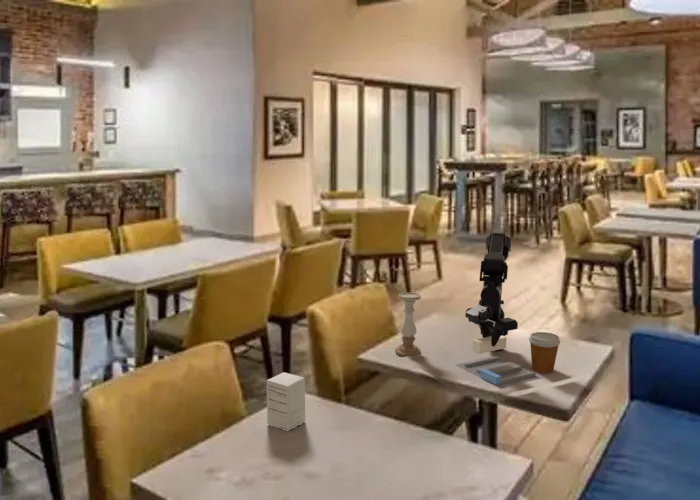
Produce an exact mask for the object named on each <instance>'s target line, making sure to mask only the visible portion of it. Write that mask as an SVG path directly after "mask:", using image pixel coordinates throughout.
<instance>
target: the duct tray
mask: <svg viewBox="0 0 700 500" xmlns="http://www.w3.org/2000/svg"><path fill="white" fill-rule="evenodd" d="M455 366H456V367H458V368H459V369H463V370H464V371H466V372H469V373H470V374H472V375H474V376H477V377H478V378H480V379H482V380H484V381H486V382H488V383H491V384H493V385H495V386H496V387H499V388H501V389H503V388H506V387H511V386H515V385H519V384H522V383H526V382H531V381H535V380H540V379H541V377H540V376H537V375H536V372H535V371H529V372H528V371H526V370H523V369H522V365H520V364H518V363H515V362H513V361H507V362H506V361H504V360H501V356H498V355H497V356H490V357H486V358H480V359H476V360H470V361H467V362H466V361H465V362H461V363H457V364H455Z"/></svg>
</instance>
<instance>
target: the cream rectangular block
mask: <svg viewBox="0 0 700 500" xmlns="http://www.w3.org/2000/svg"><path fill="white" fill-rule="evenodd" d="M506 348H507V337H506V336H502V335H501V336H500V338H499V340H498V342H497V343H496V345H495V346H492V344H491V336H490V337H485V338H483V337H481V338H475V339H473V340H472V351H473V352H475V353H477V354H478V355H480V354H484V353H488V352H489V353H490V352H496V351H495V350H499V349H503V350H504V349H506Z"/></svg>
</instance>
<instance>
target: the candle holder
mask: <svg viewBox="0 0 700 500" xmlns="http://www.w3.org/2000/svg"><path fill="white" fill-rule="evenodd" d="M421 297H422V296H421V294H420V293H416V292H407V291H406V292H401V293H399V294H398V296H397V298H398V299H399V300H402V302H403V304H404V308H403V312H404V320H403V322H402V324H401V327H400V333H401V335H402V336H401V337H400V338H401V341H402V344H400V345H398V346H397V347H395V349H394V353H395V354H396V355H397V356H400V357H410V356H416V355H421V353H422V350H421V348H419V346H417V345H416V344H414V342H415V340H416V337H415V335H416V334H417V331H418V330H417V326H416V325H415V322H414V312H415V311H416V310H415V308H414V304H415V303H416V301H418V300H421Z"/></svg>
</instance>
